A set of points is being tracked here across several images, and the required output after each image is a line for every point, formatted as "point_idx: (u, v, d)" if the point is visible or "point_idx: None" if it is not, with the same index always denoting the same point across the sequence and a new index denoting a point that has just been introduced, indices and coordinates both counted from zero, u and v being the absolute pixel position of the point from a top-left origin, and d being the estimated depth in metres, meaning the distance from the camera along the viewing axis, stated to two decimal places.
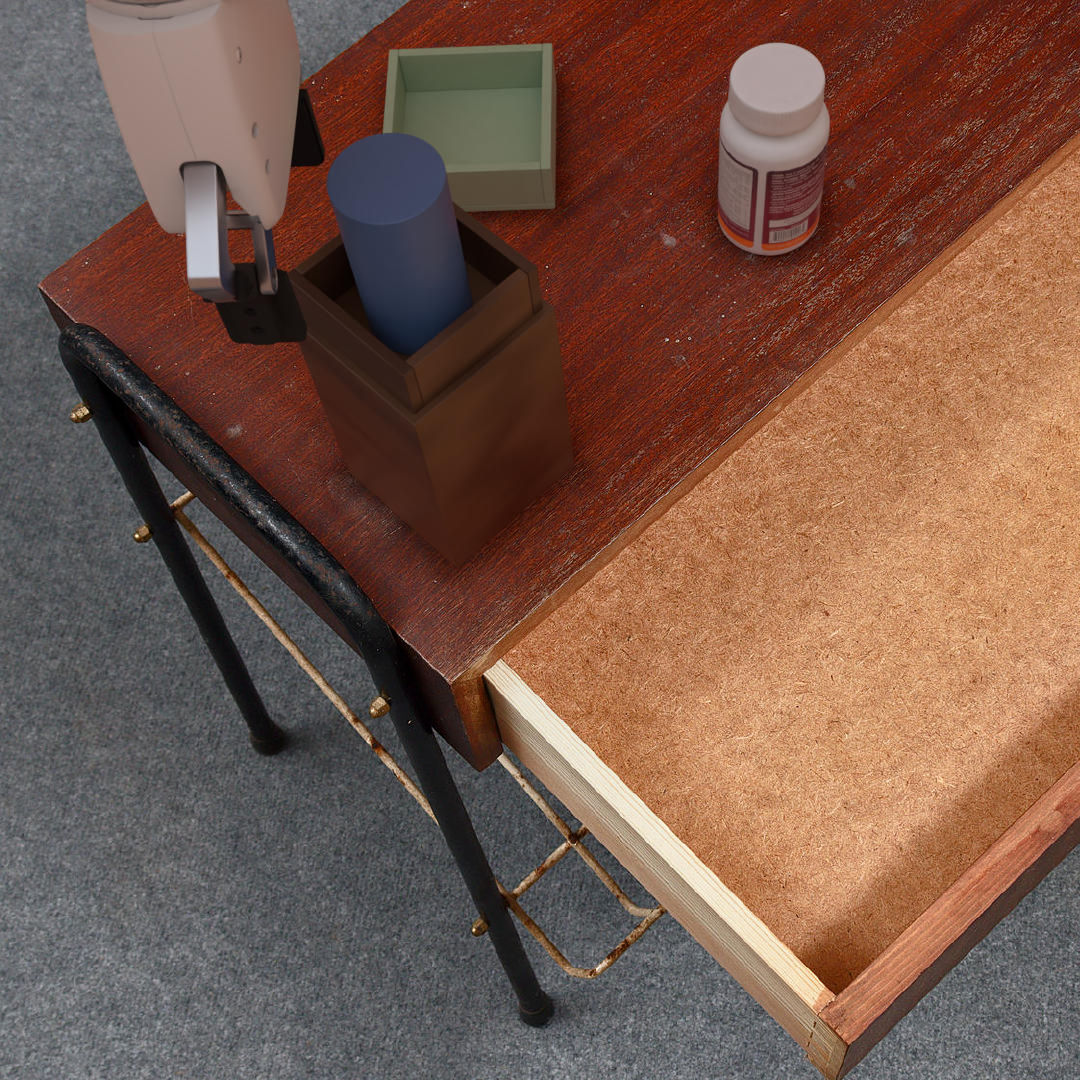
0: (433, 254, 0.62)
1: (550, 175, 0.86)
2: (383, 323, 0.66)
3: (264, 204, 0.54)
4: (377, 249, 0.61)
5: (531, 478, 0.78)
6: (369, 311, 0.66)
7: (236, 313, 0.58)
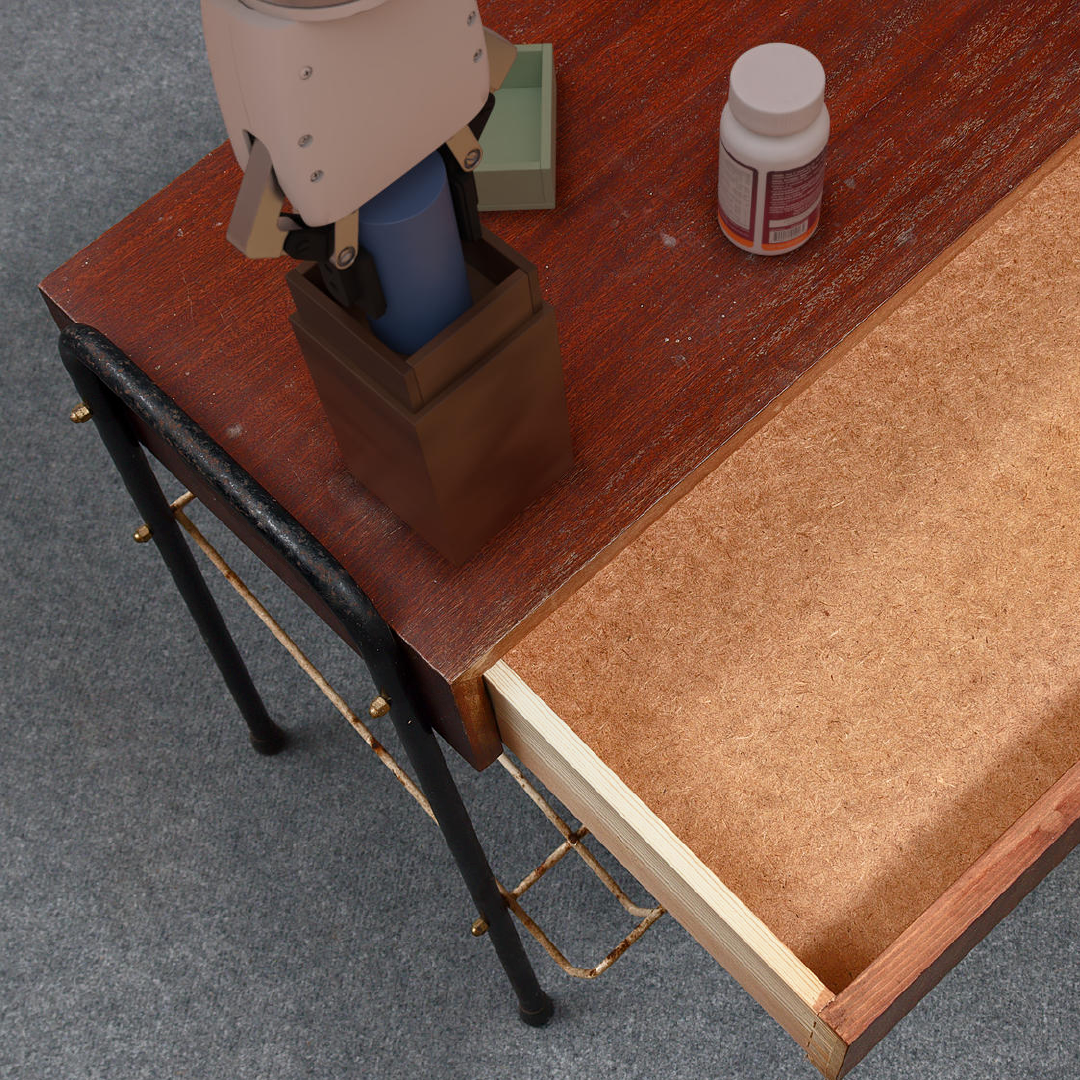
0: (433, 254, 0.62)
1: (550, 175, 0.86)
2: (383, 323, 0.66)
3: (303, 204, 0.55)
4: (377, 249, 0.61)
5: (531, 478, 0.78)
6: None
7: (320, 262, 0.62)
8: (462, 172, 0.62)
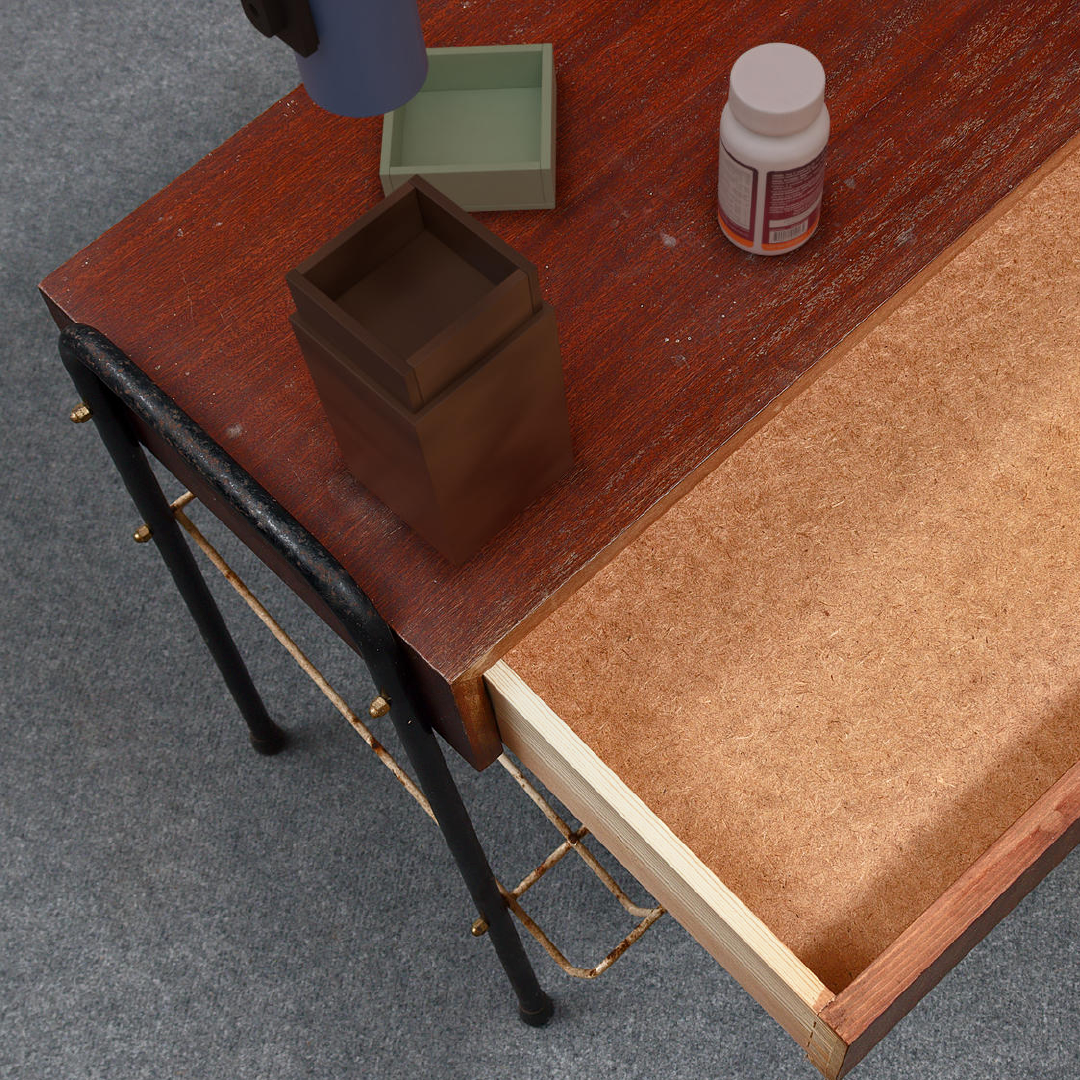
0: None
1: (550, 175, 0.86)
2: (317, 73, 0.55)
3: None
4: None
5: (531, 478, 0.78)
6: (301, 58, 0.55)
7: None
8: None
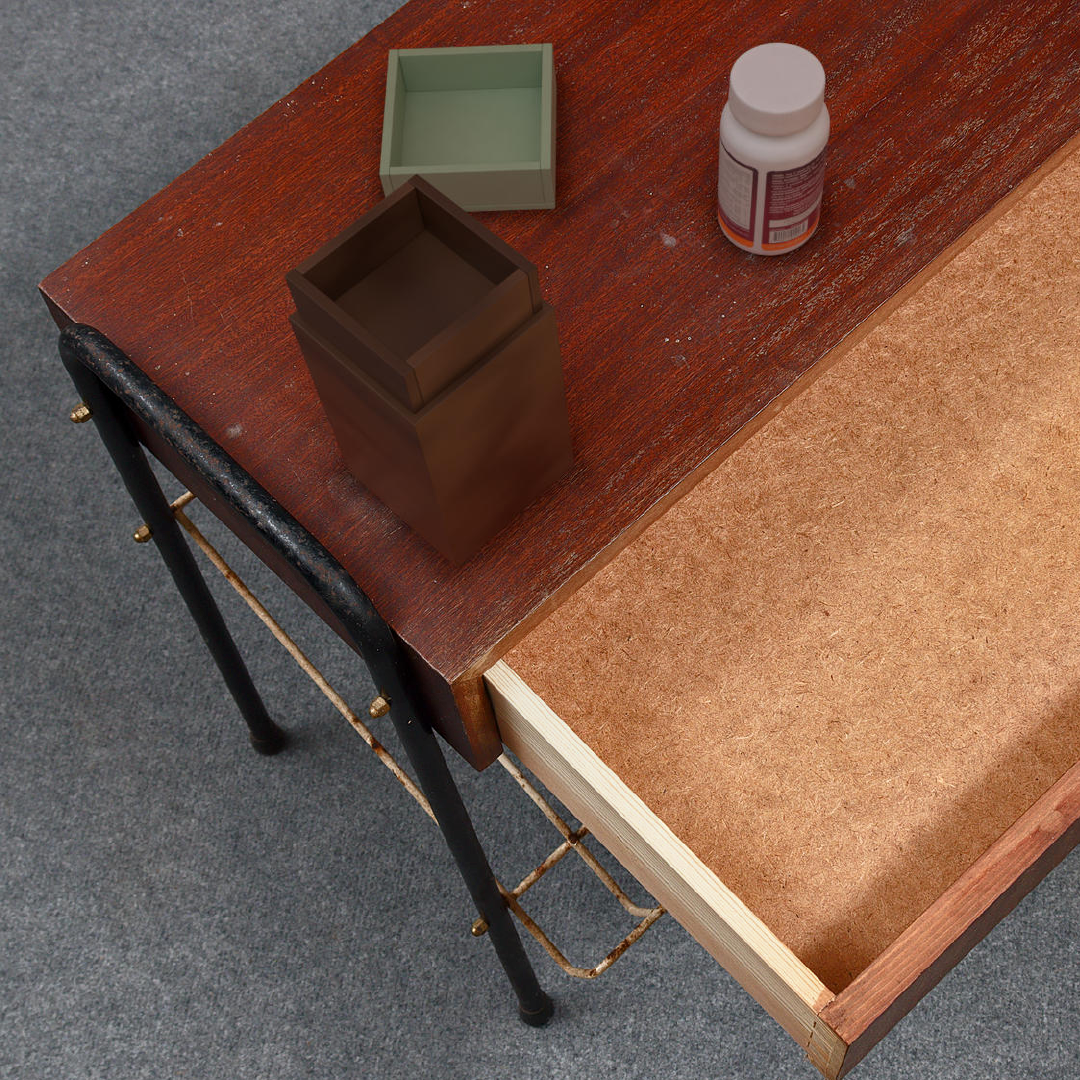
0: None
1: (550, 175, 0.86)
2: None
3: None
4: None
5: (531, 478, 0.78)
6: None
7: None
8: None
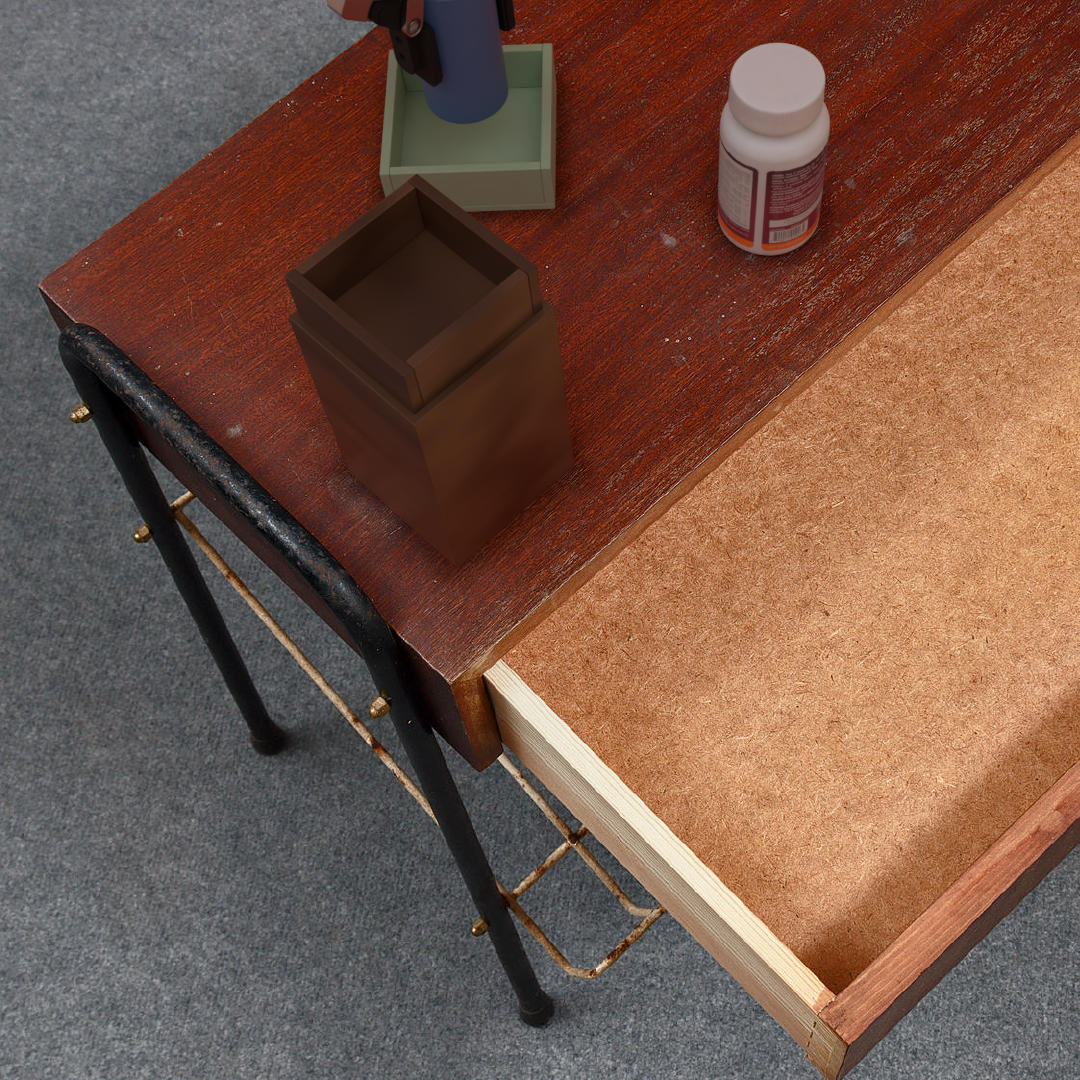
0: (480, 31, 0.81)
1: (550, 175, 0.86)
2: (438, 95, 0.85)
3: None
4: (438, 24, 0.80)
5: (531, 478, 0.78)
6: (428, 86, 0.85)
7: (392, 37, 0.81)
8: None
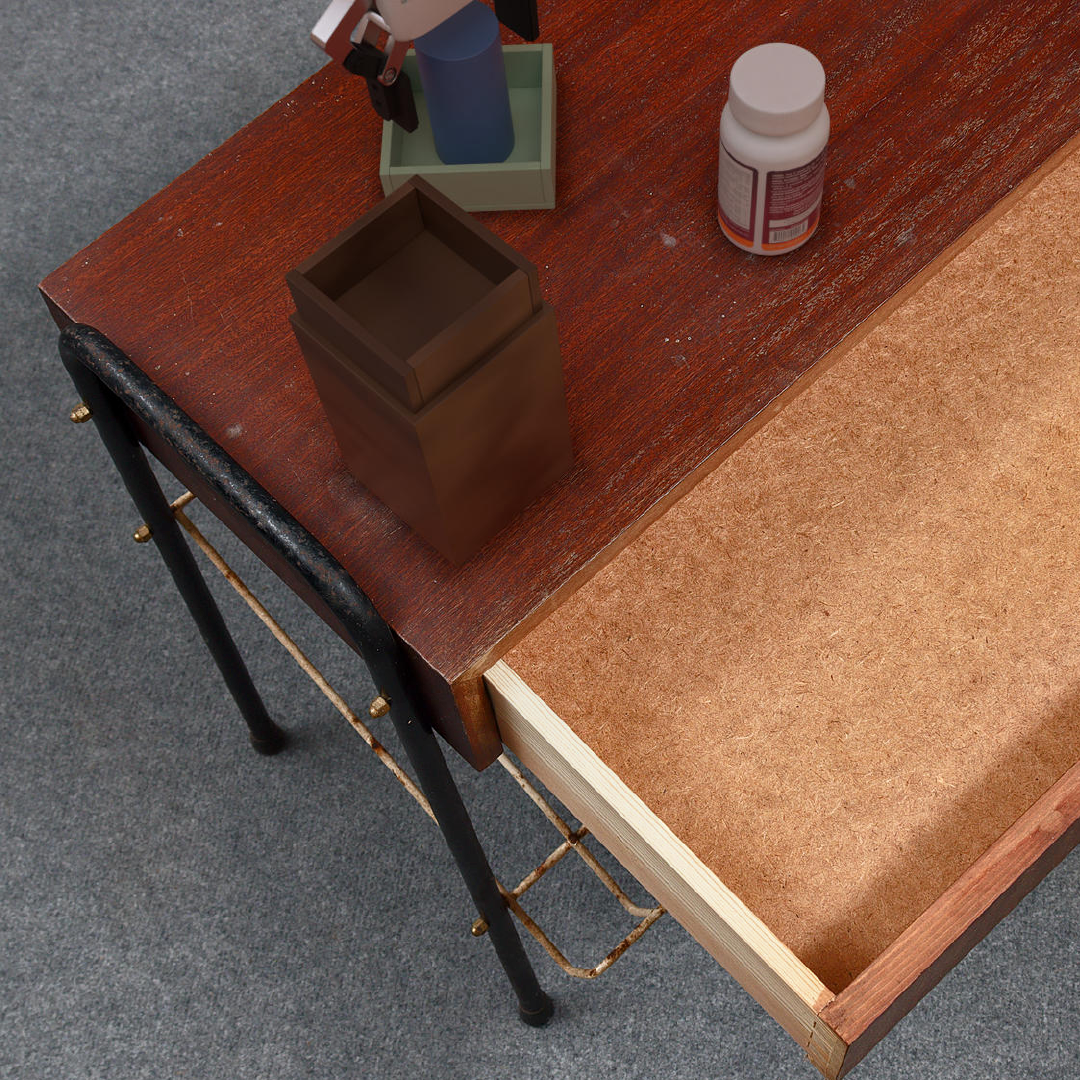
0: (488, 87, 0.84)
1: (550, 175, 0.86)
2: (448, 146, 0.88)
3: (394, 21, 0.77)
4: (448, 81, 0.83)
5: (531, 478, 0.78)
6: (438, 137, 0.88)
7: (369, 84, 0.82)
8: None
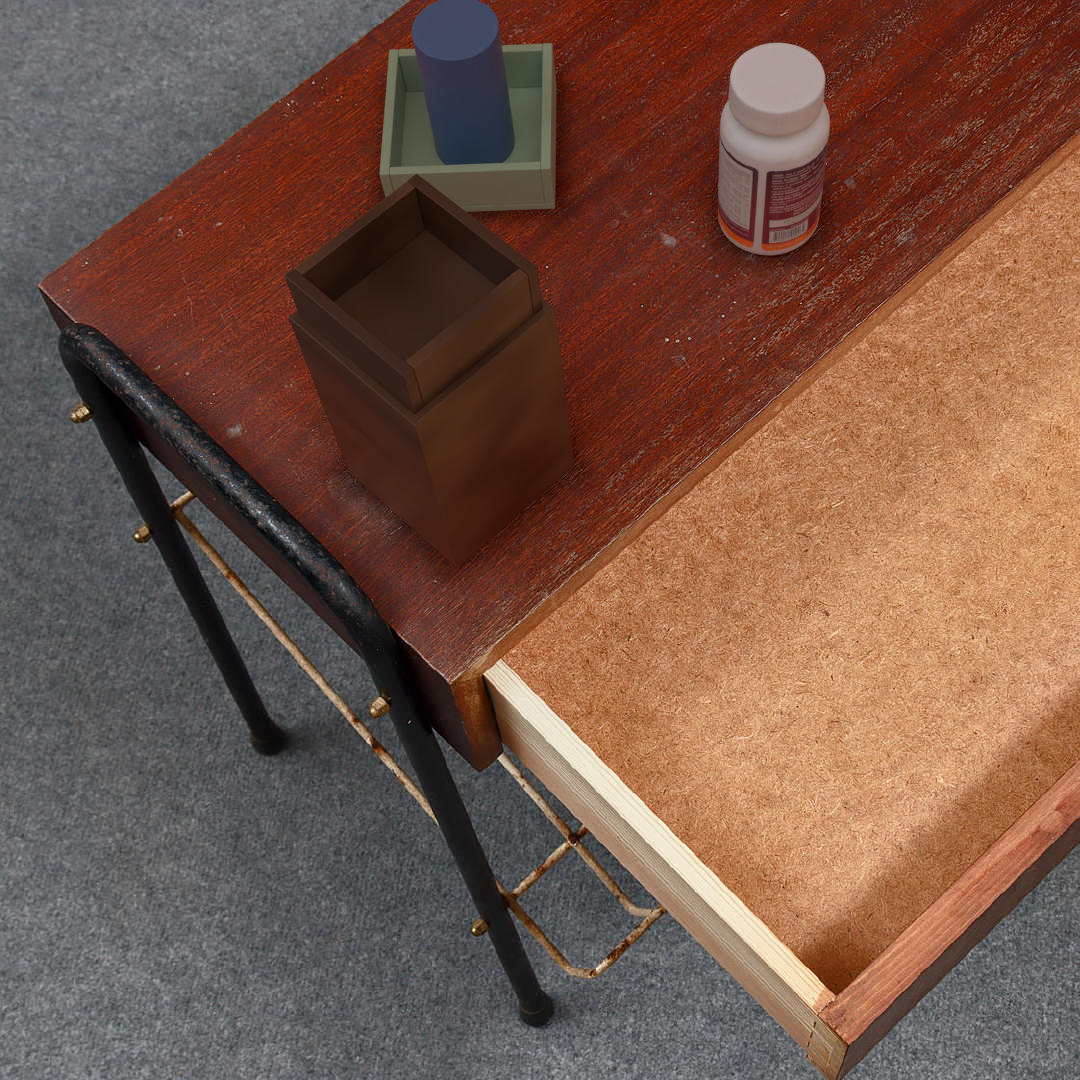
0: (488, 87, 0.84)
1: (550, 175, 0.86)
2: (448, 146, 0.88)
3: None
4: (448, 81, 0.83)
5: (531, 478, 0.78)
6: (438, 137, 0.88)
7: None
8: None
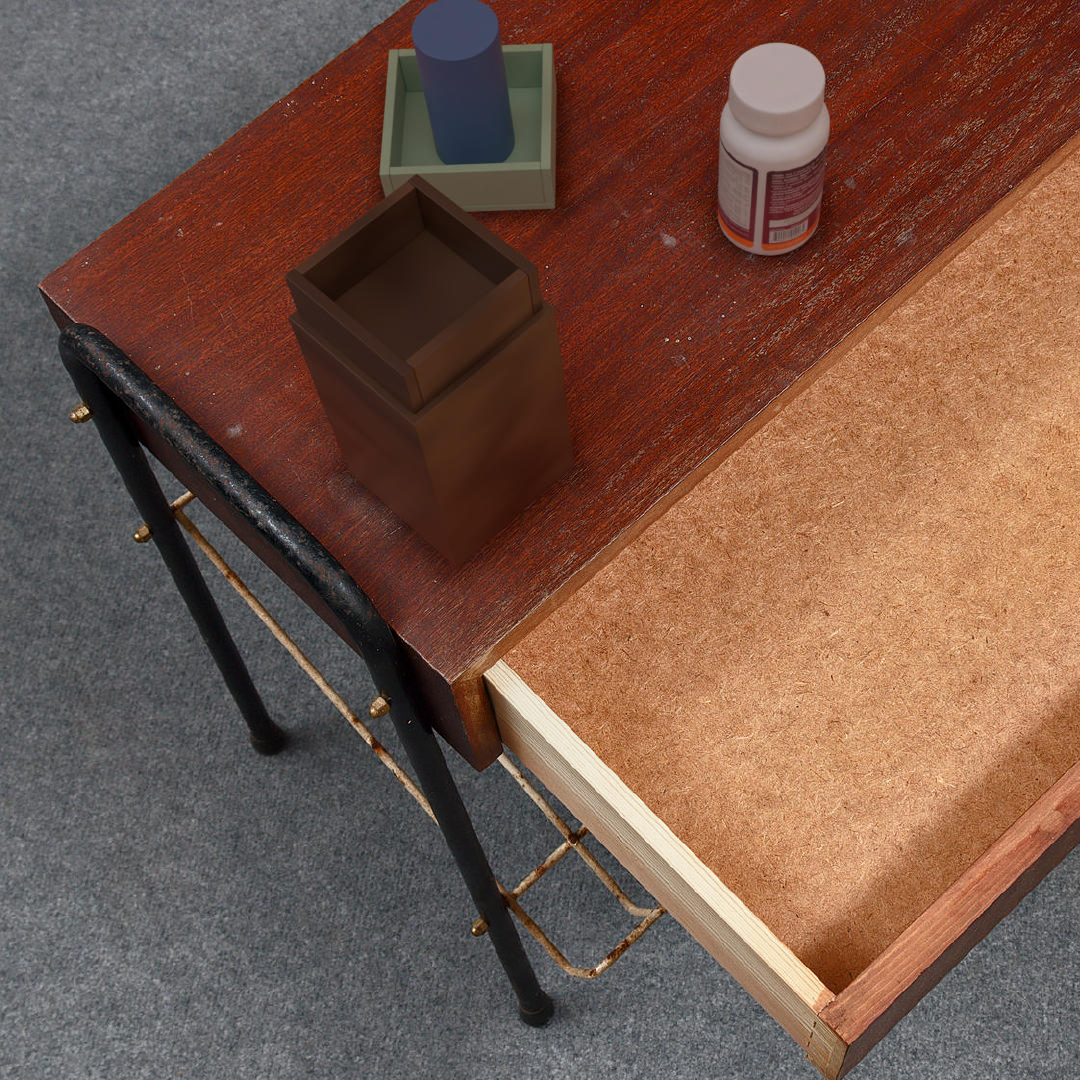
0: (488, 87, 0.84)
1: (550, 175, 0.86)
2: (448, 146, 0.88)
3: None
4: (448, 81, 0.83)
5: (531, 478, 0.78)
6: (438, 137, 0.88)
7: None
8: None
